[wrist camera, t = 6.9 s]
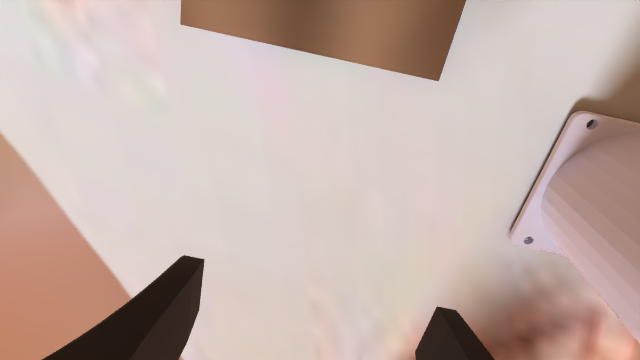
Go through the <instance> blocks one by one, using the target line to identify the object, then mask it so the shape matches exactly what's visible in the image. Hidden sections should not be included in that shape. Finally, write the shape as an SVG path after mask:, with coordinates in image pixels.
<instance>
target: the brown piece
mask: <svg viewBox="0 0 640 360" xmlns="http://www.w3.org/2000/svg"><path fill="white" fill-rule="evenodd" d="M465 2H466V0H181V25H186V26H190V27H195V28H199V29H204V30H208V31H213V32H217V33H222V34H226V35H231V36H236V37H240V38H245V39H249V40H254V41H258V42H263V43H267V44H272V45H276V46H281V47H286V48H290V49H295V50H299V51H304V52H308V53H313V54H317V55H322V56H326V57H331V58H335V59H340V60H345V61H349V62H354V63H358V64H363V65H367V66H372V67H376V68H381V69H385V70H390V71H394V72H399V73H404V74H408V75H413V76H417V77H422V78H426V79H431V80H435V81H439V79H440V76H441V73H442V70H443V67H444V64H445V61H446V58H447V55H448V52H449V49H450V46H451V43H452V40H453V37H454V34H455V32H456V29H457V26H458V23H459V20H460V17H461V14H462V11H463V8H464V5H465Z"/></svg>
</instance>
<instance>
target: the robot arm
mask: <svg viewBox="0 0 640 360" xmlns="http://www.w3.org/2000/svg"><path fill="white" fill-rule="evenodd" d="M590 120H593V124H592V125H591V126H589V127H586V126H587V123H588V122H589V121H590ZM527 237H530V238H529V239H528V240H524V239H525V238H527ZM509 239H510V241H511V242H512V243H513V244H514V245H517V246H522V247H527V248H531V249H536V250H541V251H546V252H551V253H556V254H561V255H566V257H567V258H568V259H569V260H570V261H571V263H572V264H573V265H574V266H575V267H576V268H577V270H578V271H579V272H580V273H581V274H582V276H583V277H584V278H585V279H586V280H587V282H588V283H589V284H590V285H591V286H592V287H593V289H594V290H595V291H596V292H597V293H598V295H599V296H600V297H601V298H602V299H603V300H604V302H605V303H606V304H607V305H608V306H609V308H610V309H611V310H612V311H613V312H614V313H615V315H616V316H617V317H618V318H619V319H620V321H621V322H622V323H623V324H624V325H625V327H626V328H627V329H628V330H629V331H630V332H631V334H632V335H633V336H634V337H635V338H636V340H637V341H638V342H639V343H640V123H637V122H633V121H628V120H624V119H619V118H614V117H610V116H605V115H601V114H596V113H592V112H587V111H577V112H575V113H573V114H572V115H571V116H570V118H569V119H568V121H567V123H566V125H565V127H564V129H563V131H562V133H561V135H560V137H559V139H558V140H557V142H556V144H555V146H554V148H553V150H552V152H551V154H550V156H549V158H548V160H547V162H546V164H545V166H544V168H543V170H542V171H541V173H540V175H539V177H538V179H537V181H536V183H535V185H534V187H533V189H532V191H531V193H530V195H529V197H528V199H527V201H526V203H525V204H524V206H523V208H522V210H521V212H520V214H519V216H518V218H517V220H516V222H515V224H514V226H513V228H512V230H511V232H510V234H509ZM203 268H204V259H200V258H195V257H190V256H185V255H184V256H182V257H180V258H179V259H178V260H177V261H176V262H175V263H174V264H173V265H171V266H170V267H169V268H168V269H167V270H166V271H165V272H164V273H162V274H161V275H160V276H159V277H158V278H157V279H156V280H154V281H153V282H152V283H151V284H150V285H149V286H147V287H146V288H145V289H144V290H142V291H141V292H140V293H139V294H137V295H136V296H135V297H134V298H132V299H131V300H130V301H129V302H127V303H126V304H125V305H124V306H122V307H121V308H119V309H118V310H117V311H115V312H114V313H113V314H111V315H110V316H109V317H107V318H106V319H105V320H103V321H102V322H101V323H99V324H98V325H96V326H95V327H93V328H92V329H90V330H89V331H87V332H86V333H84V334H83V335H81V336H80V337H78V338H77V339H75V340H73V341H72V342H70V343H69V344H67V345H66V346H64V347H62V348H61V349H59V350H57V351H56V352H54V353H53V354H51V355H49V356H47V357H45V358H44V359H42V360H178V359H179V357H180V355H181V353H182V351H183V349H184V347H185V345H186V343H187V341H188V338H189V336H190V333H191V330H192V328H193V325H194V322H195V319H196V317H197V314H198V311H199V305H200V296H201V287H202V277H203ZM415 355H416V360H494V358H493V357H492V356H491V354H490V353H489V352H488V351H487V349H486V348H485V347H484V345H483V344H482V343H481V342H480V340H479V339H478V338H477V336H476V335H475V334H474V332H473V331H472V330H471V328H470V327H469V326H468V325H467V323H466V322H465V321H464V319H463V318H462V317H461V316H460V314H459V313H458V312H457V311H456V310H452V309H447V308H442V307H437V308H436V310H435V312H434V314H433V316H432V318H431V320H430V322H429V324H428V326H427V328H426V331H425V333H424V335H423V337H422V339H421V341H420V343H419V345H418V347H417V349H416V351H415Z"/></svg>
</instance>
